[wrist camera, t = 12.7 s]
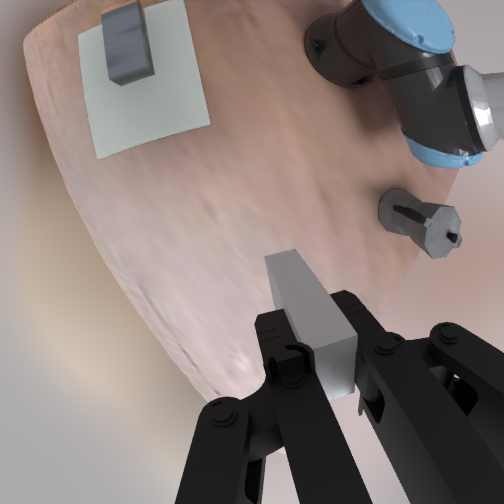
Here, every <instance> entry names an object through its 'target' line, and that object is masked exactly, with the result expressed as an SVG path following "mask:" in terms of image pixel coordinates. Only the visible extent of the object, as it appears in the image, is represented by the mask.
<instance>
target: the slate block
mask: <svg viewBox="0 0 504 504" xmlns="http://www.w3.org/2000/svg"><path fill="white" fill-rule="evenodd" d="M101 18H102V30H103V39H104V48H105V56H106V63H107V70H108V77H109V80H111V81H113V82H114V83H116V84H118V85H120V86H124V85H126V84H129V83H132V82H135V81H137V80H140V79H143V78H146V77H149V76H152V75H155V72H154V66H153V61H152V56H151V50H150V44H149V39H148V33H147V26H146V20H145V11H144V9H143V8H142V6H141V4H140V2H139V0H126V1H123V2H121V3H118V4H115V5H113V6H111V7H108V8H106V9H103V10H101Z"/></svg>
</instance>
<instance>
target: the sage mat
mask: <svg viewBox="0 0 504 504" xmlns="http://www.w3.org/2000/svg"><path fill="white" fill-rule="evenodd" d="M143 9H144V11H145V20H146V26H147V33H148V39H149V44H150V50H151V56H152V61H153V66H154V72H155V75H152V76H149V77H146V78H143V79H140V80H137V81H135V82H132V83H129V84H126V85H124V86H120V85H118V84H116V83H114V82H113V81H111V80H109V77H108V70H107V63H106V56H105V48H104V39H103V30H102V24H100V25H98V26H96V27H94V28H91V29H89V30H87V31H85V32H83V33H81V34H79V35H78V45H79V57H80V67H81V75H82V83H83V90H84V96H85V102H86V108H87V114H88V119H89V124H90V129H91V134H92V139H93V143H94V148H95V152H96V156H97V160H100V159H102V158H105V157H107V156H110V155H113V154H115V153H118V152H121V151H123V150H126V149H129V148H132V147H135V146H138V145H141V144H144V143H147V142H150V141H153V140H156V139H159V138H163V137H166V136H169V135H173V134H176V133H180V132H184V131H187V130H191V129H195V128H199V127H203V126H207V125H211V123H210V119H209V114H208V110H207V105H206V101H205V96H204V92H203V87H202V83H201V78H200V74H199V69H198V65H197V60H196V55H195V51H194V46H193V42H192V37H191V32H190V27H189V23H188V18H187V13H186V8H185V4H184V0H170V1H166V2H162V3H159V4H155V5H152V6H149V7H145V8H143Z"/></svg>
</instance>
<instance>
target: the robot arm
mask: <svg viewBox="0 0 504 504" xmlns="http://www.w3.org/2000/svg"><path fill="white" fill-rule="evenodd" d="M453 34H454V29H453V25H452V23H451V21H450V19H449V17H448V16H447V14H446V13H445V11H444V10H443V9H442V7H441V6H440V5H439V4H438V3H437V2H436V1H435V0H353V1H352V2H351V3H350V4H349V5H347V6H346V7H345V8H344V9H343V10H342V11H341V12H337V13H333V14H328V15H325V16H322V17H320V18H319V19H317V20H316V21H315V22H314V23H313V24H312V25H311V26H310V27H309V29H308V31H307V33H306V36H305V50H306V53H307V56H308V58H309V60H310V62H311V64H312V65H313V67H314V68H315V69H316V70H317V71H318V72H319V73H320V74H321V75H322V76H323V77H324V78H326V79H327V80H329V81H330V82H332V83H334V84H337V85H339V86H342V87H348V88H357V87H362V86H365V85H368V84H370V83H372V82H374V81H375V80H376V79H378V78H379V76H380V78H381V80H382V83H383V85H384V87H385V89H386V92H387V94H388V96H389V98H390V101H391V103H392V105H393V108H394V110H395V113H396V115H397V118H398V120H399V123H400V126H401V131H402V134H403V135H404V137H405V138H406V140H407V143H408V146H409V148H410V151H411V152H412V154H413V155H414V156H415V157H416V158H417V159H418V160H419V161H421V162H423V163H425V164H427V165H430V166H434V167H440V168H462V167H463V165H464V166H471V165H474V164H476V163H477V162H479V161H480V160H481V158H482V154H483V151H491V150H492V149H493V147H494V146H495V144H496V143H497V141H499V140H501V139H502V140H503V139H504V72H502V73H491V74H480V73H479V72H477V71H476V70H474V69H473V68H472V67H470V66H469V65H463V66H456V65H455V64H454V61H453V59H452V57H451V55H450V52H449V51H450V49H451V48H452V47H453V46H454V42H455V37H454V36H453ZM265 262H266V267H267V272H268V277H269V282H270V287H271V292H272V297H273V302H274V306H275V308H276V310H275V311H271V312H267V313H263V314H259V315H258V316H257V318H256V321H255V324H254V325H255V329H256V333H257V338H258V342H259V346H260V350H261V354H262V358H263V366H264V370H265V373H266V378H265V381H264V383H263V385H262V386H261V387H260V388H259V389H258V390H257V391H256V392H255V393H253V394H252V395H250V396H248V397H246V398H244V399H242V400H239V399H237V398H234V397H228V396H227V397H221V398H217V399H215V400H212V401H210V402H209V403H208V404H207V405H206V406H205V407H203V409H202V411H201V413H200V415H199V418H198V421H197V425H196V429H195V432H194V436H193V439H192V443H191V446H190V450H189V454H188V457H187V461H186V464H185V468H184V472H183V476H182V479H181V482H180V486H179V490H178V493H177V497H176V501H175V504H261V501H262V492H263V482H264V472H265V463H266V456H267V455H269V454H271V453H273V452H275V451H276V450H278V449H280V448H282V447H285V450H286V454H287V458H288V462H289V465H290V469H291V473H292V477H293V480H294V484H295V488H296V491H297V495H298V499H299V502H300V504H373V503H372V501H371V498H370V496H369V493H368V491H367V489H366V487H365V484H364V482H363V479H362V477H361V475H360V472H359V470H358V468H357V465H356V463H355V461H354V458H353V456H352V454H351V452H350V449H349V447H348V444H347V442H346V440H345V437H344V435H343V433H342V430H341V428H340V426H339V423H338V421H337V419H336V417H335V414H334V412H333V410H332V408H331V406H330V403H329V401H331V400H334V399H337V398H340V397H343V396H345V395H348V394H351V393H353V392H354V389H355V383H356V385H357V387H358V389H359V391H360V400H359V407H358V412H359V416H360V415H362V412H363V409H364V411H365V413H366V415H367V417H368V419H369V421H370V423H371V425H372V427H373V429H374V431H375V433H376V435H377V437H378V439H379V440H380V442H381V444H382V446H383V448H384V450H385V452H386V454H387V456H388V458H389V460H390V462H391V464H392V466H393V468H394V470H395V472H396V474H397V477H398V479H399V480H400V483H401V485H402V487H403V489H404V491H405V493H406V495H407V497H408V499H409V501H410V504H504V353H503V352H502V351H500V350H499V349H497V348H495V347H494V346H492V345H491V344H489V343H487V342H486V341H484V340H483V339H481V338H479V337H478V336H476V335H475V334H473V333H471V332H470V331H468V330H466V329H465V328H463V327H461V326H460V325H457V324H455V323H450V322H445V323H439V324H437V325H436V326H434V327H433V328H432V330H431V331H430V335H429V337H427V338H421V339H415V340H405V339H404V338H403V337H402V336H400V335H399V334H396V333H393V332H386V331H385V330H384V328H383V327H382V326H381V325H380V323H379V322H378V321H377V320H376V319H375V317H374V316H373V315H372V314H371V313H370V312H369V310H367V308H366V307H365V306H364V305H363V304H362V302H361V301H360V300H359V299H358V298H357V296H356V295H354V294H352V293H350V292H348V291H346V290H343V291H340V292H336V293H333V294H330V295H329V294H328V292H327V291H326V290H325V288H324V287H323V285H322V284H321V283H320V281H319V280H318V279H317V277H316V276H315V275H314V273H313V272H312V271H311V269H310V268H309V267H308V265H307V264H306V263H305V261H304V260H303V259H302V257H301V256H300V255H299V253H298V252H297V251H296V249H293V250H289V251H285V252H281V253H277V254H273V255H269V256H265ZM454 374H455V375H457V376H458V377H459V378H456V377H454Z"/></svg>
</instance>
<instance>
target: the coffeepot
mask: <svg viewBox="0 0 504 504" xmlns="http://www.w3.org/2000/svg"><path fill="white" fill-rule="evenodd" d="M378 215H379V221H380V222H381V224H382V225H383V226H384V227H385V229H386V230H387V231H390V232H394V233H397V234H401V235H405V236H410V237H411V239H412V240H413V241H414V242H415V243H416V244H417V245H418V246H419V247H420V248H422V249H423V250H424V251H425V252H426V253H427V254H428V255H429V256H430V257H431V258H432V259H435V258H441V257H446V256H447V255H448V253H449V252H450V251H451V249H452V248H458V247H459V246H460V243H461V242H462V237H461V235H460V233H459V230H460V224H461V220H460V218H459V216H458V214H457V212H456V209H455V207H454V206H447V205H441V204H435V203H428V202H421V200H419V199H418V198H416V197H415V196H413V195H412V194H410V193H409V192H407V191H406V190H404V189H390V190H389V191H388V192H387V193H386V194H385V195H384V196H383V198H382V199H381V201H380V203H379V209H378Z"/></svg>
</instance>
